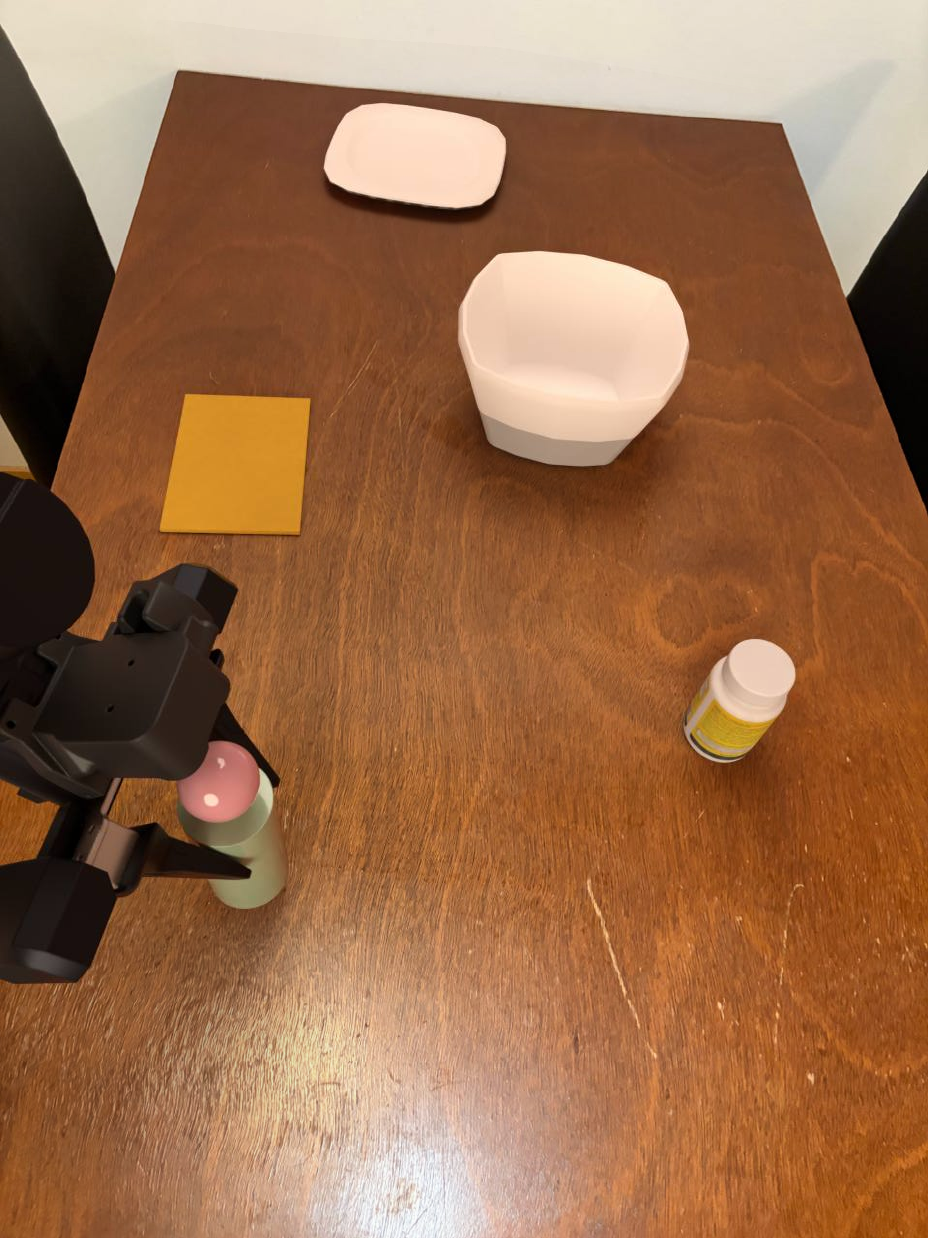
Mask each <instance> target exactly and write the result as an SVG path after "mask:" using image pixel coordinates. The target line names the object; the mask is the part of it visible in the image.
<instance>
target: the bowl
mask: <svg viewBox="0 0 928 1238" xmlns="http://www.w3.org/2000/svg"><path fill="white" fill-rule="evenodd" d="M457 312H458V313H457V343H458V347H459V350H460V353H461V356H462V359H463V363H464V366H465V369H466V373H467V376H468V379H469V381H470V385H471V388H472V392H473V395H474V399H475V403H476V407H477V409H478V411H479V415H480V417H481V422H482V425H483V429H484V432H485V436H486V440H487V441H488V443H489V444H490V445H491V446H493V447H494V448H497V449H500V450H502V451H504V452H507V453H508V454H512V455H514V456H516V457H520V458H524V459H528V460H531V461H535V462H539V463H543V464H546V465H556V466H569V467H571V466H572V467H592V466H595V467H596V466H606V465H609V464H611V463H612V462H613V461H614V460H615V459H616V458H617V457H618V456H619V455H620V454H621V453H622V452H623V451H624V450H625V449H626V447H627V446H628V445H630V443H631V442H632V441H633V440H634V439H635V438H636V437H637V436H638V435H639V434H640V433H641V432H642V430H644V429H645V427H646V426H648V424H649V423H650V422H651V421H652V420H653V419H654V418H655V417H656V416H657V415H658V414H659V413H660V411H661V410H663V408H664V407H665V406H666V405H667V403H668V402H669V400H670V399H671V397H672V395H673V394H674V393H675V391H676V389H677V388H678V386H679V385H680V384H681V382H682V381H683V377H684V373H685V369H686V365H687V361H688V356H689V352H690V340H689V336H688V330H687V326H686V320H685V315H684V312H683V309H682V308H681V306H680V304H679V302H678V300H677V298H676V297H675V295H674V293H673V291H672V289H671V287H670V285H669V283H668V282H666V281H665V280H663V279H661V278H659V277H656V276H654V275H651V274H649V273H646V272H644V271H642V270H638V269H637V268H635V267H632V266H630V265H626V264H622V263H619V262H613V261H610V260H606V259H602V258H598V257H594V256H590V255H586V254H579V253H578V254H577V253H567V252H556V251H541V250H535V251H533V250H532V251H522V252H521V251H520V252H519V251H518V252H507V253H506V252H505V253H498V254H497V255H495V256H494V257H493V258H492V259H491V260H490V262H488V263H487V265H485V267H484V268H483V269H482V270H481V271H480V272H479V273H478V274H477V275H476V276H475V277H474V278H473V279H472V282H471V284H470V285H469V288H468V290H467V291H466V294H465V296H464V298H463V300H462V302H461V303H460V306H459V308H458V310H457Z"/></svg>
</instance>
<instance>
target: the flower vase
mask: <svg viewBox="0 0 928 1238" xmlns="http://www.w3.org/2000/svg"><path fill="white" fill-rule="evenodd" d="M208 744H209V750H208V752H207V755H206V757H205V760H204V762H203V763H202V765H201V766H200V768H199V769H198V770H197V771H196V772H195V773H194V774H192V775H191V776H189V777H187V778H186V779H183V780H179V781H175V783H176V784H175V785H176V786H175V787H176V793H177V801H176V813H177V814H176V815H177V818H178V822H179V824H180V826H181V829H182V830H183V832H184V834H185V837H186V839H187V842H188V843H190V844H193V845H195V846H198V847H201V848H204V849H207V850H209V851H212V852H215V853H218V854H220V855H223V856H226V857H229V858H231V859H233V860H235V861H237V862H239V863H240V864H242V865H244V866H246V867H247V868H249V869H251V870H252V873H251V877H250V878H249V879H243V880H220V879H206V880H207V882H208V884H209V886H210V889H211V891H212V892H213V894H214V895H215V897H217V899H218V900H220V901H221V902H222V903H223V904H225V905H227V906H229V907H230V908H234V909H238V910H239V909H241V910H248V909H256V908H258V907H262V906H264V905H265V904H267V903H269V902H270V901H272V900H273V899H274V898H276V897H277V896H278V894H279V893H280V892H281V890H282V889H283V888H284V886H285V884H286V882H287V879H288V877H289V870H290V860H289V856H288V851H287V846H286V842H285V837H284V832H283V828H282V824H281V820H280V815H279V811H278V807H277V806H278V805H277V802H276V797H275V792H274V788H272V785H271V782H270V780H269V778H268V777H267V775H266V774H265V773H264V772H263V771H262V770H261V769H260V768H259V767H258V765H257V763H256V761H255V759H254V758H253V756H252V755H251V754H250V753H249V752H248V751H247V750H246V749H245V748H243V747H242V746H240V745H238V744H236V743H233V742H229V741H211V742H208Z"/></svg>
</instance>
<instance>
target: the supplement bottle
mask: <svg viewBox="0 0 928 1238" xmlns="http://www.w3.org/2000/svg"><path fill="white" fill-rule="evenodd" d="M795 681H796V668H795V665H794V662H793V660H792V659H791V657H790V656H789V654H788V653H787V652H786V651H785V650H784V649H782V647H780V646H779V645H777V644H775V643H773V642H771V641H769V640H765V639H759V638H749V639H746V640H743V641H740V642H739V643H737V644H736V645H735V646H733V648H731V650H730V652H729V653H728V655H725V656H724V657H722V658H721V659H719V660H718V661H717V662H716V663H715V664H714V665H713V667H712V668H711V670H710V672H709V673H708V675H707V676H706V678H705V680H704V682H703V683H702V685H701V687H700V688H699V690H698V691H697V693H696V695H695V696H694V698H693V700H692V701H691V703H690V704H689V706H688V708H687V709H686V712H685V714H684V716H683V721H682V722H683V724H682V725H683V732H684V736H685V737H686V739H687V742H688V743H689V744H690V746H691V747H692V748H693V750H695V752H697V753H698V754H699V755H700V756H702V757H704V758H705V759H707V760H710V761H713V762H716V763H722V764H723V763H724V764H725V763H732V762H733V763H734V762H737V761H739V760H741V759H743V758H744V757H746V756H747V755H748V754H749V753H750V752H751V751H752V749H753V748H754V746H756V744H757V743H758V742H759V740H760V739H761V738H762V737H763V735H764V734H765V733H766V731H767V730H768V729H769V728H770V726H772V724H773V722H775V720H776V719H777V718H778V717H779V715H780V714H781V713H782V711H783V710H784V708H785V705H786V703H787V699H788V694H789V692H790V691H791V689H792V687H793V686H794V684H795Z"/></svg>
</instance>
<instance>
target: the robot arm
mask: <svg viewBox="0 0 928 1238" xmlns="http://www.w3.org/2000/svg"><path fill="white" fill-rule="evenodd" d="M95 562H96V561H95V556H94V552H93V549H92V545H91V541H90V539H89V537H88V535H87V533H86V531H85V528H84V526H83V525H82V524H81V521H80V520H79V518H78V517H77V516H76V514H75V513H74V512H73V511H72V510H71V509H70V507H69V506H68V504H66V503H65V502H64V500H62V499H61V498H60V497H59V496H57V495H56V494H55V493H54V492H53V491H51V489H49V488H48V487H46V486H45V485H43V484H41V483H39V482H38V481H37V480H34V479H32V478H22V477H20V476H16V475H14V474H10V473H7V472H6V471H5V472H4V471H0V780H1V781H3V782H6V783H8V784H9V785H12V786H15V788H18V791H17V793H16V795H17V796H18V797H21V798H22V799H23V798H24V799H26V800H28V801H30V802H33V803H34V804H37V805H39V804H43V803H46V802H49V803H52V804H54V805H56V806H58V809H57V811H56V813H55V816H54V818H53V820H52V822H51V825H50V827H49V829H48V831H47V833H46V835H45V837H44V840H43V842H42V844H41V846H40V849H39V850H38V853H37V855H36V857H35V858H30V859H25V860H21V861H16V862H12V863H5V864H0V980H1V981H4V982H7V983H10V984H13V985H35V984H36V985H39V984H43V985H45V984H47V985H48V984H77V983H78V982H79V981H80V980H81V979H82V978H83V977H84V975H85V974H86V973H87V972H88V971H89V970H90V968H91V967H92V965H93V962H94V960H95V957H96V954H97V951H98V949H99V947H100V944H101V942H102V939H103V936H104V933H105V932H106V929H107V925H108V923H109V921H110V918H111V917H112V913H113V911H114V908H115V906H116V903H117V900H118V899H120V898H126V897H129V896H131V895H132V894H133V893H134V892H136V890H137V889H138V888H139V886H140V884H141V882H142V879H143V878H165V879H168V878H169V879H195V880H197V879H198V880H207V879H220V880H243V879H249V878H250V877H251V873H252V870H251V869H249V868H247V867H246V866H244V865H242V864H240V863H239V862H237V861H235V860H233V859H231V858H229V857H226V856H223V855H220V854H218V853H215V852H212V851H209V850H207V849H204V848H201V847H198V846H195V845H193V844H190V843H189V842H188V841H184V840H181V839H179V838H175V837H173V836H171V835H170V834H168V833H167V831H166V830H165V829H164V828H163V827H162V826H161V824H160V823H159V822H157V821H154V822H150V823H149V822H148V823H145V824H140V825H135V826H130V827H127V826H125V825H123V824H121V823H118V822H117V821H114V820H112V819H110V817H109V815H110V812H111V810H112V808H113V806H114V803H115V801H116V799H117V796H118V793H119V792H120V789H121V787H122V784H123V781H124V779H159V780H164V781H166V782H167V781H168V782H176V781H179V780H183V779H186V778H187V777H189V776H191V775H192V774H194V773H195V772H196V771H197V770H198V769H199V768H200V766H201V765H202V763H203V762H204V760H205V757H206V755H207V752H208V750H209V744H208V742H211V741H229V742H233V743H236V744H238V745H240V746H242V747H243V748H245V749H246V750H247V751H248V752H249V753H250V754H251V755H252V756H253V758H254V759H255V761H256V763H257V765H258V767H259V768H260V769H261V770H262V771H263V772H264V773H265V774H266V775H267V777H268V778H269V780H270V782H271V785H272V788H273V789H275V788H279V786H280V783H281V777H280V776H279V775H278V774H277V772H276V771H275V769H273V767H272V765H270V763H269V762H268V760H267V759H266V758H265V756H264V755H263V754H262V752H261V751H260V750H259V749H258V747H257V746H256V744H255V743H254V741H252V739H251V738H250V737H249V735H248V734H247V733H246V731H245V730H244V729H243V727H242V726H241V724H240V723H239V722H238V720H237V718H236V717H235V716H234V714H233V712H232V710H231V708H230V706H229V705H228V703H227V701H228V698H229V696H230V693H231V681H230V678H229V677H228V676H227V675H226V674H225V673H224V672H223V667H224V664H225V661H226V659H225V655H224V652H223V650H221V649H220V648H214V649H213V647H214V645H215V643H216V639H217V637H218V635H221V634H223V630H224V627H225V625H226V622H227V620H228V617H229V616H230V613H231V610H232V608H233V605H234V602H235V599H236V597H237V596H238V595H237V594H238V592H239V588H238V587H237V585H236V583H235V582H233V580H230V579H229V578H228V577H226V576H225V575H223V574H222V573H220V572H219V571H218V570H216V569H215V568H213V567H212V566H211V565H209V564H205V563H204V564H203V563H198V562H195V561H191V562H181V563H179V564H177V565H175V566H174V567H172V568H170V569H167V570H166V571H164V572H162V573H159V574H158V575H156V576H154V577H152V578H150V579H144V580H143V579H142V580H136V581H134V582H132V584H131V586H130V588H129V591H128V592H127V594H126V596H125V599H124V600H123V603H122V605H121V607H120V609H119V611H118V613H117V616H116V621H111V622H110V624H109V625H108V627H107V630H106V632H105V634H104V635H103V637H102V639H101V640H97V639H94V638H89V637H85V636H80V635H76V634H75V633H72V632H70V631H69V629H71V628H72V627H73V626H74V625H75V623H76V622H77V621H78V620H79V619H80V618H81V617H82V615H83V614H84V613H85V611H86V609H87V608H88V606H89V604H90V601H91V599H92V595H93V591H94V587H95V582H96V563H95Z"/></svg>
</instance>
